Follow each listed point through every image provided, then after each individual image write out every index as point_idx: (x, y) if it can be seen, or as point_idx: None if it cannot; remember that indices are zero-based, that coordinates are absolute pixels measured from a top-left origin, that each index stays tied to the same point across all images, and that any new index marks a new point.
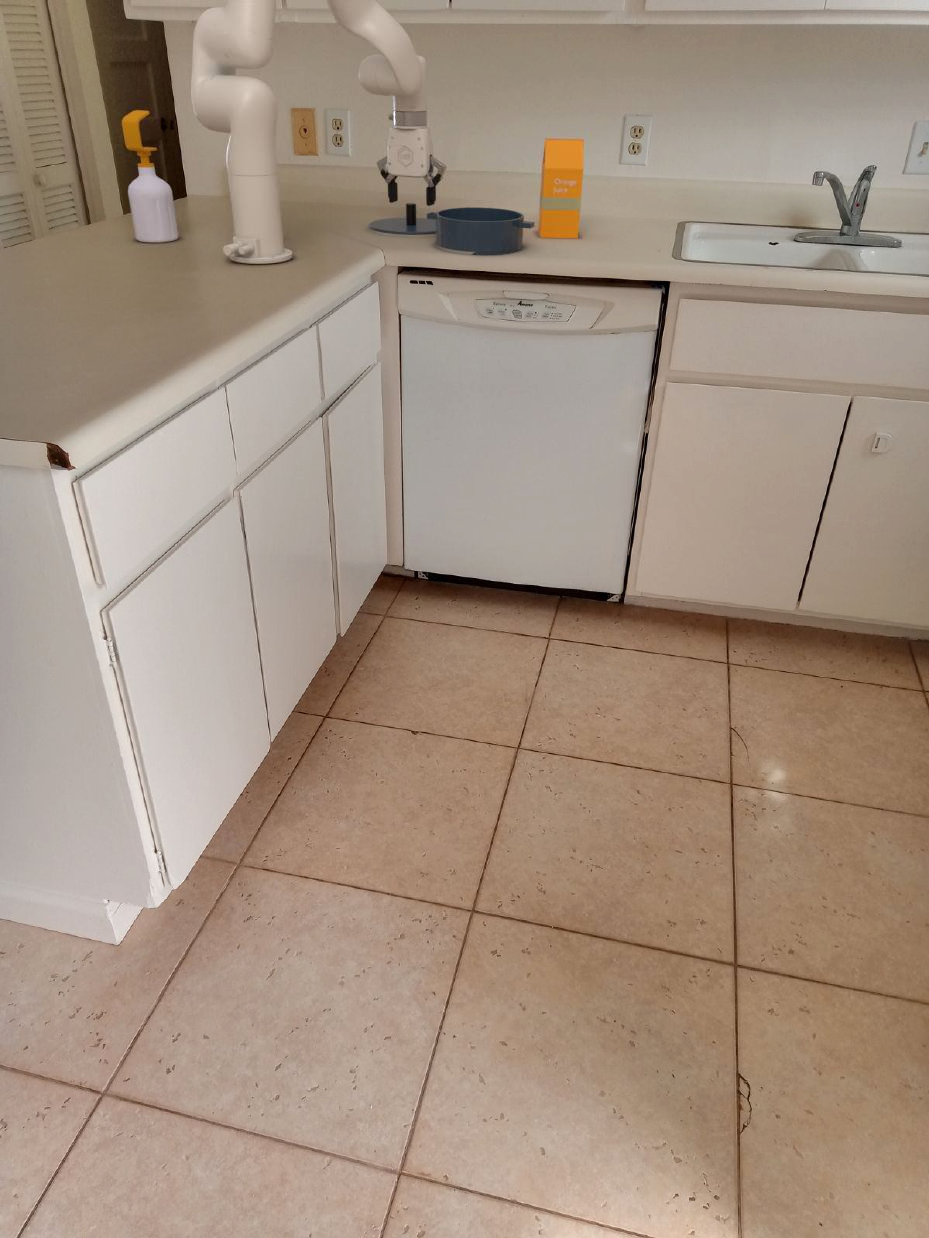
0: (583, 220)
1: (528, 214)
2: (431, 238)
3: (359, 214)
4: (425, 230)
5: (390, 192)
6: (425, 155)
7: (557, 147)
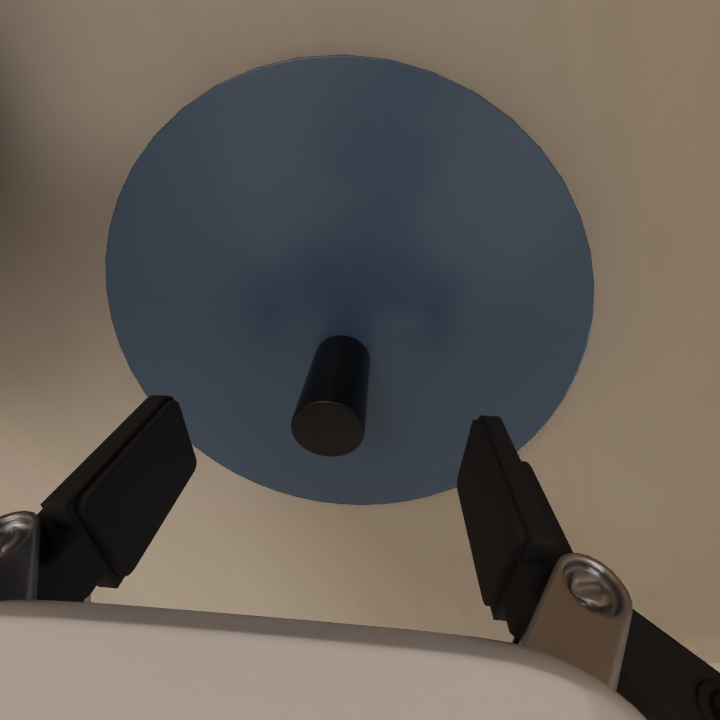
0: None
1: None
2: (102, 148)
3: (673, 545)
4: (169, 221)
5: (509, 470)
6: None
7: None
